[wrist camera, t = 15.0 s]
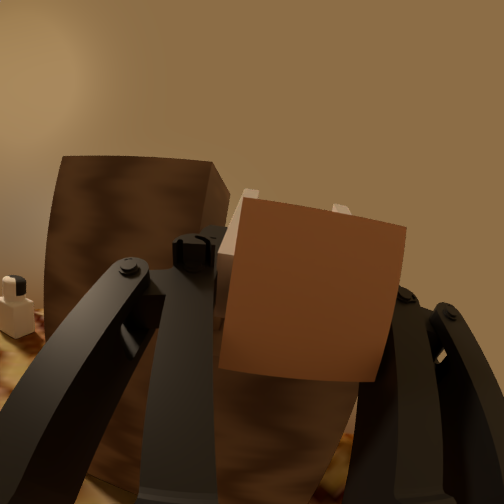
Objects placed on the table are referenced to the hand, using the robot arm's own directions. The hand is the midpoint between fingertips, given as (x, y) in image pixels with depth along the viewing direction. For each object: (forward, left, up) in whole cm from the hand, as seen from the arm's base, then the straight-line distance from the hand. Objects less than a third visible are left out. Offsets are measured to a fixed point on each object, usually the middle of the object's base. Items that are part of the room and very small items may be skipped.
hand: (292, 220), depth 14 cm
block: (0, +4, -5) cm, 6 cm away
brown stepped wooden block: (-6, +8, -27) cm, 29 cm away
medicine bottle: (-50, +23, -27) cm, 61 cm away
